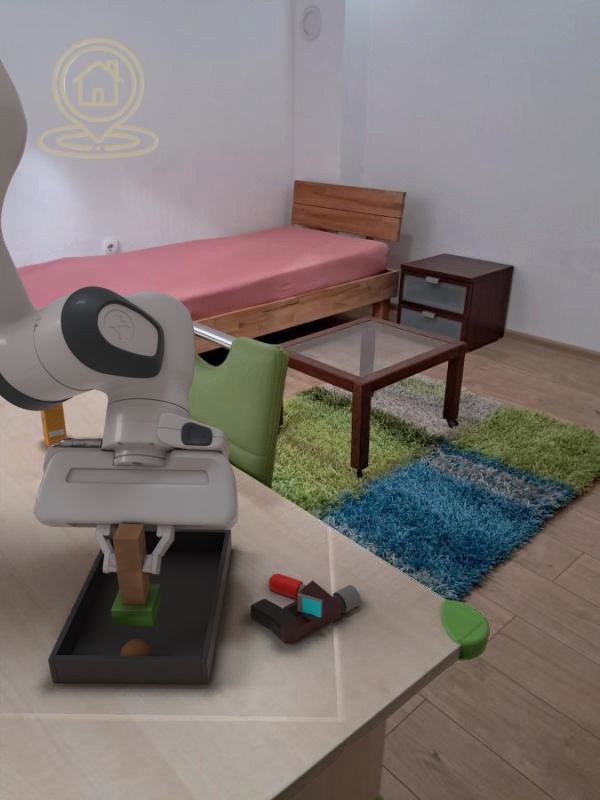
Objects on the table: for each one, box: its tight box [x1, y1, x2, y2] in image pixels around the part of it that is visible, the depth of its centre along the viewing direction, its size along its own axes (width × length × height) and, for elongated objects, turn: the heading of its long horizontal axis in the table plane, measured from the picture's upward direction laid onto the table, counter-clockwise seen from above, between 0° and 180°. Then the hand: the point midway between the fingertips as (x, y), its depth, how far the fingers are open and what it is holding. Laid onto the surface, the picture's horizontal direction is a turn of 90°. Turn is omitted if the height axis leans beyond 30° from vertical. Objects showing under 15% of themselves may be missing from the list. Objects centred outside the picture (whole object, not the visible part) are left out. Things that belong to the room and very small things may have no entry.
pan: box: [47, 528, 233, 686], centre depth 71 cm, size 15×21×4 cm
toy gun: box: [249, 573, 362, 645], centre depth 71 cm, size 10×12×5 cm
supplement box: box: [40, 403, 68, 449], centre depth 105 cm, size 3×3×10 cm
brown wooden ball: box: [120, 639, 151, 656], centre depth 63 cm, size 3×3×3 cm
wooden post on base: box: [111, 524, 161, 626], centre depth 63 cm, size 4×4×10 cm
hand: (131, 573), depth 62 cm, fingers closed on wooden post on base, 2 cm apart
